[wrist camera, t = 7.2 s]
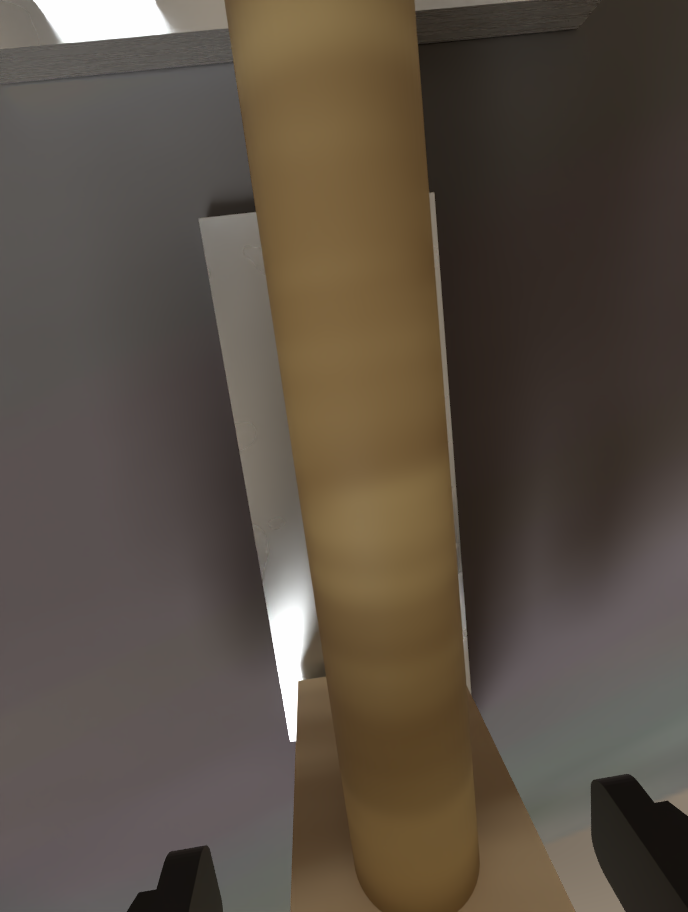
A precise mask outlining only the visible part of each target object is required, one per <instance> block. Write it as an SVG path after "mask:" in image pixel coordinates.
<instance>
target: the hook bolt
mask: <svg viewBox="0 0 688 912" xmlns="http://www.w3.org/2000/svg"><path fill="white" fill-rule="evenodd" d="M224 2H225V9H226V16H227V22H228V29H229V35H230V42H231V49H232V55H233V62H234V69H235V75H236V82H237V89H238V95H239V102H240V108H241V115H242V122H243V128H244V135H245V142H246V148H247V155H248V162H249V168H250V175H251V182H252V188H253V195H254V201H255V208H256V215H257V221H258V228H259V235H260V241H261V248H262V255H263V261H264V268H265V274H266V281H267V288H268V294H269V301H270V308H271V314H272V321H273V328H274V334H275V341H276V348H277V354H278V361H279V367H280V374H281V381H282V387H283V394H284V401H285V407H286V414H287V421H288V427H289V434H290V440H291V447H292V454H293V460H294V467H295V474H296V480H297V487H298V494H299V500H300V507H301V514H302V520H303V527H304V533H305V540H306V547H307V553H308V560H309V567H310V573H311V580H312V587H313V593H314V600H315V606H316V613H317V620H318V626H319V633H320V640H321V646H322V653H323V660H324V666H325V673H326V677H319V678H313V679H307V680H301V681H298V692H297V723H296V755H295V786H294V818H293V850H292V881H291V912H575V910H574V908H573V906H572V904H571V901H570V899H569V897H568V895H567V893H566V891H565V889H564V887H563V885H562V883H561V881H560V879H559V876H558V874H557V872H556V870H555V868H554V866H553V864H552V862H551V860H550V858H549V856H548V854H547V852H546V849H545V847H544V845H543V843H542V841H541V839H540V837H539V835H538V833H537V831H536V829H535V827H534V824H533V822H532V820H531V818H530V816H529V814H528V812H527V810H526V808H525V806H524V804H523V802H522V800H521V797H520V795H519V793H518V791H517V789H516V787H515V785H514V783H513V781H512V779H511V777H510V775H509V773H508V770H507V768H506V766H505V764H504V762H503V760H502V758H501V756H500V754H499V752H498V750H497V748H496V745H495V743H494V741H493V739H492V737H491V735H490V733H489V731H488V729H487V727H486V725H485V723H484V721H483V718H482V716H481V714H480V712H479V710H478V708H477V706H476V704H475V702H474V700H473V698H472V696H471V694H470V691H469V689H468V687H467V685H466V672H465V659H464V645H463V632H462V619H461V606H460V593H459V579H458V566H457V553H456V540H455V527H454V514H453V500H452V487H451V474H450V461H449V448H448V435H447V421H446V408H445V395H444V382H443V369H442V355H441V342H440V329H439V316H438V303H437V290H436V276H435V263H434V250H433V237H432V224H431V211H430V197H429V184H428V171H427V158H426V145H425V131H424V118H423V105H422V92H421V79H420V66H419V52H418V39H417V26H416V13H415V0H224Z"/></svg>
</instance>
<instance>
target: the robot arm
mask: <svg viewBox="0 0 688 912" xmlns="http://www.w3.org/2000/svg"><path fill="white" fill-rule="evenodd" d="M591 835H592V842H593V847H594V850H595V853H596V856H597V859H598V862H599V864H600V866H601V869H602V870H603V873H604V874H605V876H606V878H607V880H608V882H609V883H610V885H611V887H612V888H613V890H614V892H615V894H616V896H617V897H618V899H619V901H620V903H621V904H622V906H623V908H624V910H625V911H626V912H688V816H687V815H685V814H684V813H683V812H682V811H680V810H679V809H678V808H676V807H675V806H674V805H672V804H671V803H670V802H668V801H663V802H658V803H654V802H653V800H652V799H651V798H650V797H649V795H648V794H647V793H646V791H645V790H644V789H643V787H642V786H641V785H640V784H639V782H638V781H637V780H636V779H635V778H634V777H633V776H631V775H629V774H624V775H618V776H613V777H607V778H601V779H596V780H593V781H592V783H591ZM127 912H223V907H222V900H221V895H220V891H219V887H218V882H217V878H216V874H215V870H214V865H213V861H212V857H211V852H210V849H209V847H208V846H200V847H194V848H189V849H183V850H177V851H171V852H169V854H168V855H167V857H166V859H165V862H164V865H163V868H162V872H161V875H160V879H159V882H158V886H157V889H156V890H151V891H145V892H139V893H138V895H137V896H136V898H135V900H134V901H133V903H132V904H131V906H130V907H129V909H128V911H127Z"/></svg>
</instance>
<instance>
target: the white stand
mask: <svg viewBox="0 0 688 912" xmlns="http://www.w3.org/2000/svg"><path fill="white" fill-rule="evenodd" d="M600 1H601V0H415V13H416V26H417V39H418V44H424V43H435V42H445V41H456V40H466V39H477V38H487V37H497V36H508V35H518V34H529V33H539V32H550V31H560V30H571V29H578V28H579V27H580V26H581V24H582V23H583V22H584V21H585V20H586V18H587V17H588V16H589V15H590V14H591V12H592V11H593V10H594V9H595V7H596V6H597V5H598V4H599V3H600ZM226 62H233V55H232V49H231V42H230V35H229V29H228V22H227V16H226V9H225V2H224V0H0V84H6V83H17V82H27V81H37V80H48V79H58V78H69V77H79V76H90V75H100V74H111V73H121V72H132V71H142V70H152V69H163V68H173V67H184V66H194V65H205V64H215V63H226ZM429 197H430V211H431V224H432V237H433V250H434V263H435V276H436V290H437V303H438V316H439V329H440V342H441V355H442V369H443V382H444V395H445V408H446V421H447V435H448V448H449V461H450V474H451V487H452V500H453V514H454V527H455V540H456V553H457V566H458V579H459V593H460V606H461V619H462V632H463V645H464V659H465V672H466V685H467V687H468V689H469V691H470V694H471V684H470V670H469V657H468V643H467V629H466V616H465V602H464V589H463V575H462V562H461V548H460V534H459V521H458V507H457V494H456V480H455V467H454V453H453V440H452V426H451V412H450V399H449V385H448V372H447V358H446V345H445V331H444V317H443V304H442V290H441V277H440V263H439V250H438V236H437V222H436V209H435V195H434V192H433V193H429ZM198 219H199V225H200V230H201V236H202V242H203V247H204V253H205V259H206V264H207V270H208V276H209V281H210V287H211V293H212V298H213V304H214V310H215V316H216V321H217V327H218V333H219V338H220V344H221V350H222V355H223V361H224V367H225V372H226V378H227V384H228V390H229V395H230V401H231V407H232V412H233V418H234V424H235V429H236V435H237V441H238V446H239V452H240V458H241V463H242V469H243V475H244V481H245V486H246V492H247V498H248V503H249V509H250V515H251V520H252V526H253V532H254V537H255V543H256V549H257V554H258V560H259V566H260V572H261V577H262V583H263V589H264V594H265V600H266V606H267V611H268V617H269V623H270V628H271V634H272V640H273V646H274V651H275V657H276V663H277V668H278V674H279V680H280V685H281V691H282V697H283V702H284V708H285V714H286V719H287V725H288V731H289V737H290V741H296V723H297V692H298V681H301V680H307V679H313V678H319V677H326V673H325V666H324V660H323V653H322V646H321V640H320V633H319V626H318V620H317V613H316V606H315V600H314V593H313V587H312V580H311V573H310V567H309V560H308V553H307V547H306V540H305V533H304V527H303V520H302V514H301V507H300V500H299V494H298V487H297V480H296V474H295V467H294V460H293V454H292V447H291V440H290V434H289V427H288V421H287V414H286V407H285V401H284V394H283V387H282V381H281V374H280V367H279V361H278V354H277V348H276V341H275V334H274V328H273V321H272V314H271V308H270V301H269V294H268V288H267V281H266V274H265V268H264V261H263V255H262V248H261V241H260V235H259V228H258V221H257V215H256V212H252V213H243V214H234V215H225V216H216V217H207V218H198Z"/></svg>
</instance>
